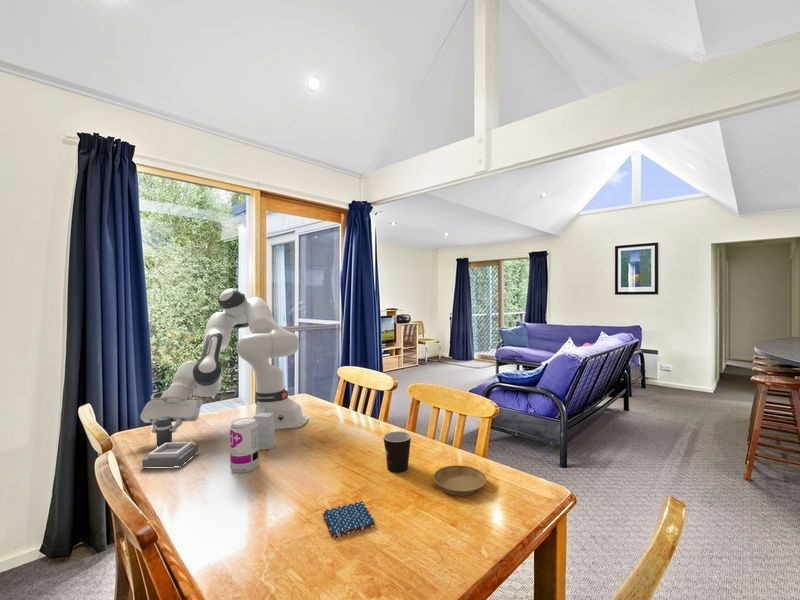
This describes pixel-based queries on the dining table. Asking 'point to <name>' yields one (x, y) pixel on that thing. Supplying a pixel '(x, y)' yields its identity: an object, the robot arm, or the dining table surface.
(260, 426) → the skincare box
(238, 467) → the supplement can
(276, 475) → the dining table surface
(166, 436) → the lens
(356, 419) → the dining table surface
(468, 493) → the plant saucer
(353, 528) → the woven mat
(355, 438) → the dining table surface
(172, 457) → the dock
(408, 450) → the coffee mug
